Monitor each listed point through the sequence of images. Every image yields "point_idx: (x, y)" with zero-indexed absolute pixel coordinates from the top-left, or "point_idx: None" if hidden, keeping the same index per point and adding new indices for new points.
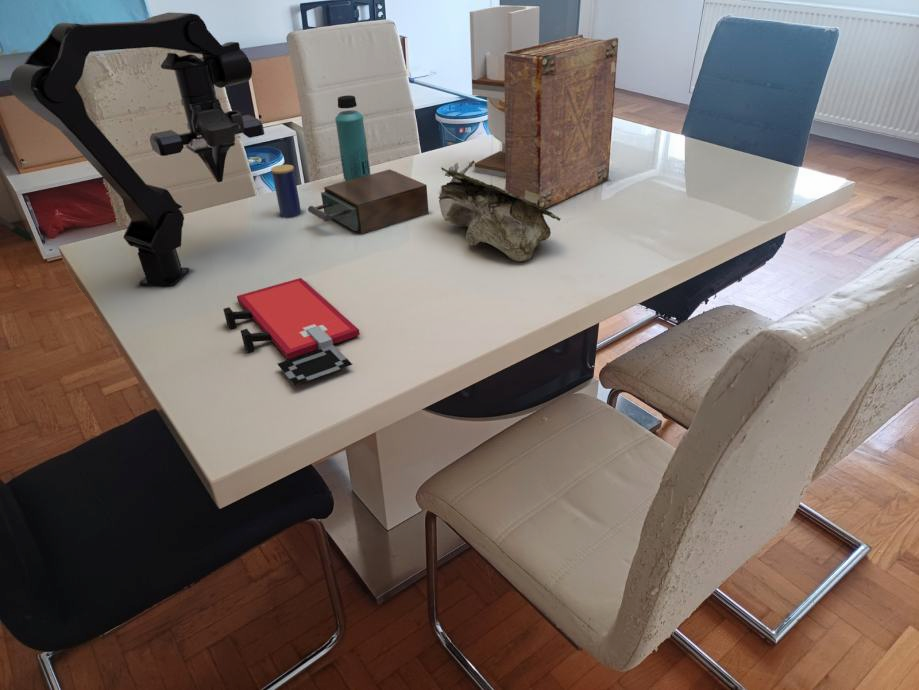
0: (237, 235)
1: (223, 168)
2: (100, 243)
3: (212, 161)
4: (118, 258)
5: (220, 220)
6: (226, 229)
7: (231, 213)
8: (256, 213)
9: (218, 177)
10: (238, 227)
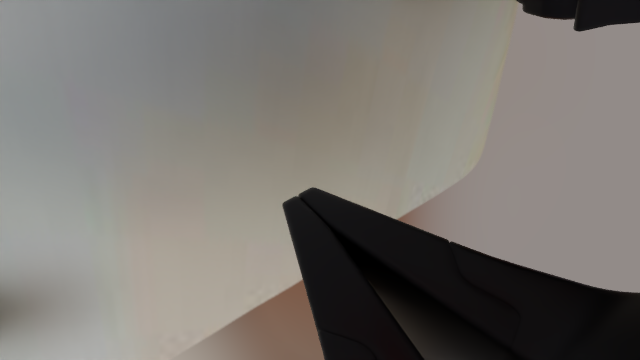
0: (156, 149)
1: (311, 284)
2: (442, 172)
3: (470, 296)
4: (445, 84)
5: (214, 262)
6: (197, 203)
7: (183, 303)
8: (98, 309)
9: (325, 209)
10: (156, 213)
